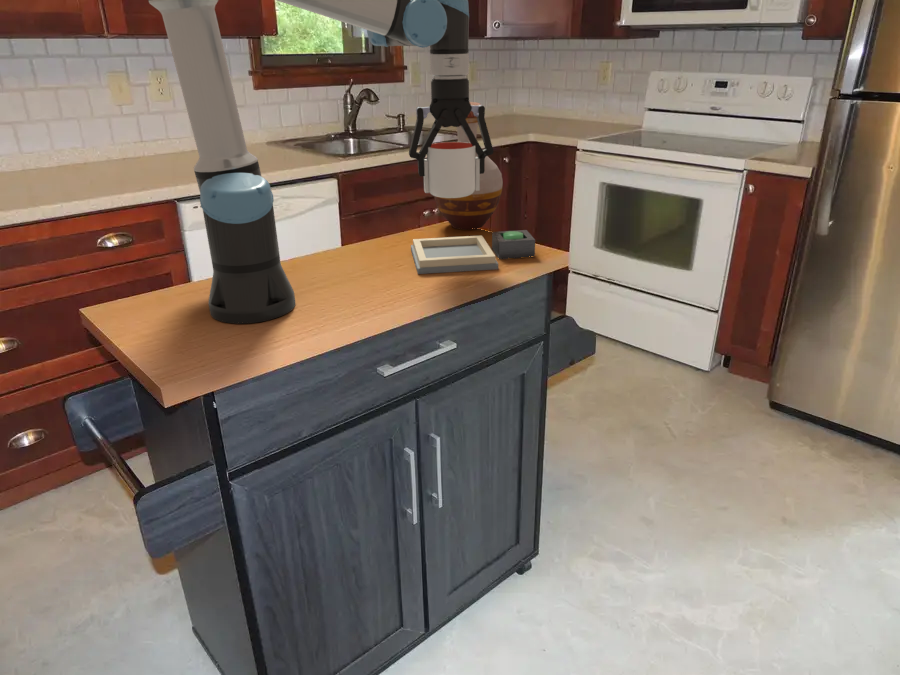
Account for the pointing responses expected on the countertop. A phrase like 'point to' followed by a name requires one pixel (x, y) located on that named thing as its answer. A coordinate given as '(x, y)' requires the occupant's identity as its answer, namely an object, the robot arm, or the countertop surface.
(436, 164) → the cup
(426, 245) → the tray
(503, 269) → the countertop surface
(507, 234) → the button
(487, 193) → the jug
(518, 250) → the dark grey square box
